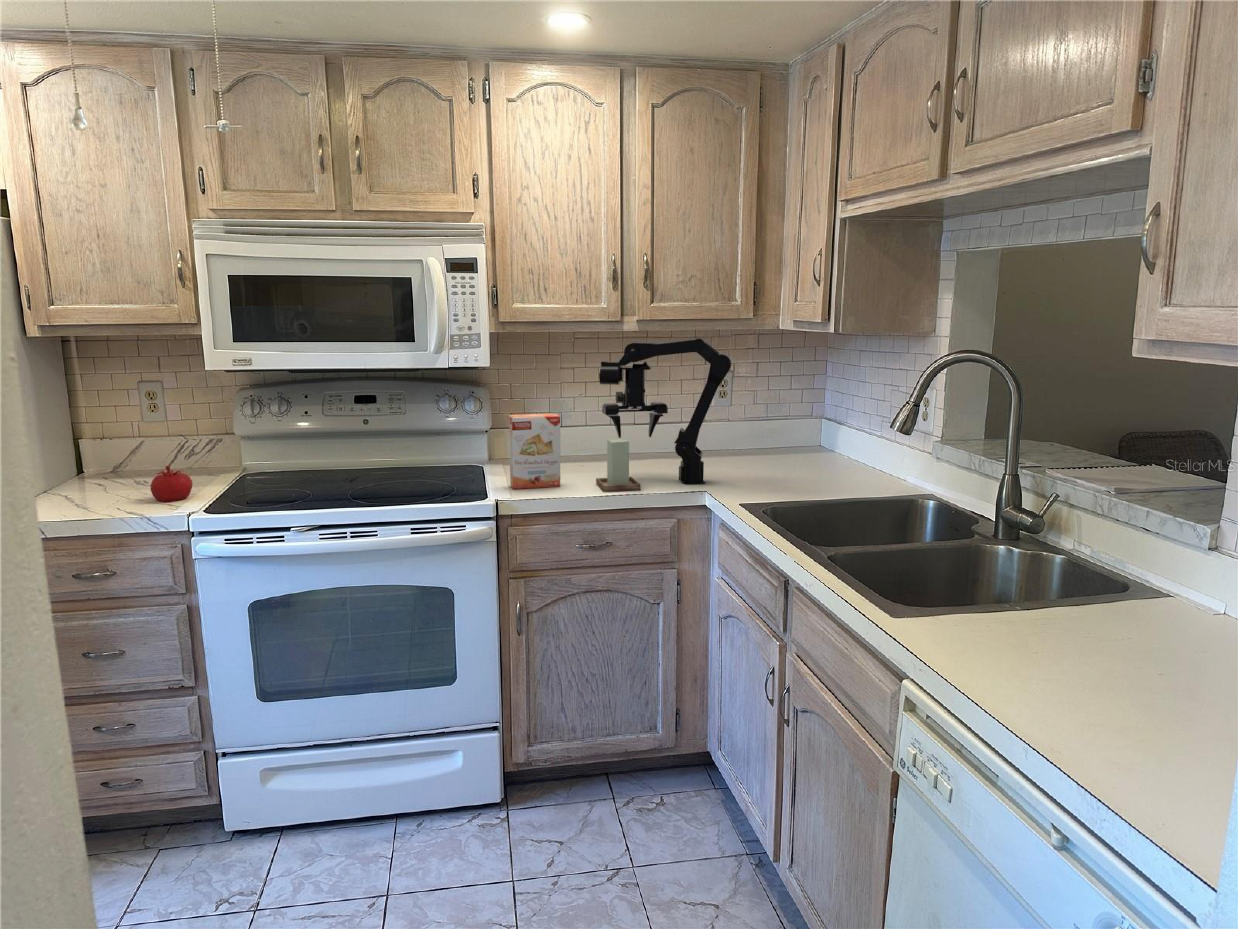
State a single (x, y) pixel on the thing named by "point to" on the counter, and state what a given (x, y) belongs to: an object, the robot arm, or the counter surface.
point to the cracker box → (534, 450)
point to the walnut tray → (605, 487)
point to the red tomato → (171, 486)
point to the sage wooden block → (617, 462)
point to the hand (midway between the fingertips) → (634, 437)
